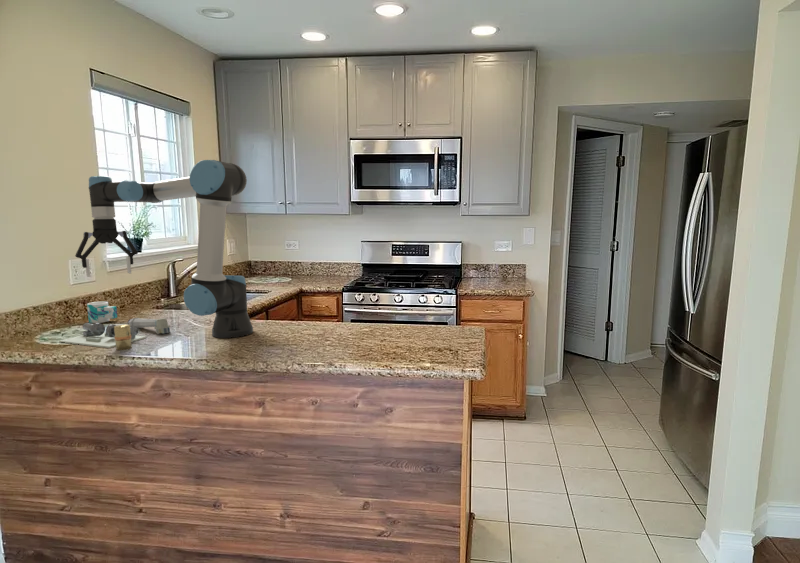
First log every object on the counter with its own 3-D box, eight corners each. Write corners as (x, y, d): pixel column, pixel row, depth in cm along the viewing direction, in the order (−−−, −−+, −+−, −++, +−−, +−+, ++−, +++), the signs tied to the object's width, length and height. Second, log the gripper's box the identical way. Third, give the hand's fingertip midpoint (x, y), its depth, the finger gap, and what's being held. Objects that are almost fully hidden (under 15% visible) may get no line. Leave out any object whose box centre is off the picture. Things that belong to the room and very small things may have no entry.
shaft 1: (105, 336, 187) (104, 322, 186) (92, 338, 183) (90, 324, 182) (94, 332, 193) (92, 319, 192) (80, 335, 189) (79, 321, 188)
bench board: (145, 338, 185) (145, 334, 185) (109, 348, 171) (109, 343, 171) (97, 333, 195) (96, 329, 194) (59, 342, 181) (58, 338, 181)
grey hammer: (137, 317, 207) (171, 314, 194) (139, 332, 208) (174, 331, 194) (125, 319, 203) (158, 317, 189) (127, 335, 203) (161, 334, 189)
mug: (98, 319, 223) (96, 301, 221) (122, 319, 221) (120, 301, 220) (84, 323, 215) (82, 304, 213) (109, 323, 213) (107, 304, 212)
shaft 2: (106, 340, 180) (105, 326, 180) (115, 337, 185) (114, 323, 184) (132, 340, 179) (131, 326, 178) (140, 337, 184) (139, 323, 183)
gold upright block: (135, 347, 172) (133, 325, 171) (122, 350, 168) (120, 328, 167) (125, 346, 174) (123, 324, 173) (112, 349, 170) (110, 327, 169)
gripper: (138, 218, 194) (143, 271, 197) (62, 219, 178) (68, 277, 181) (143, 217, 188) (147, 272, 191) (65, 218, 172) (71, 278, 175)
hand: (109, 274), depth 186 cm, fingers open, 13 cm apart
